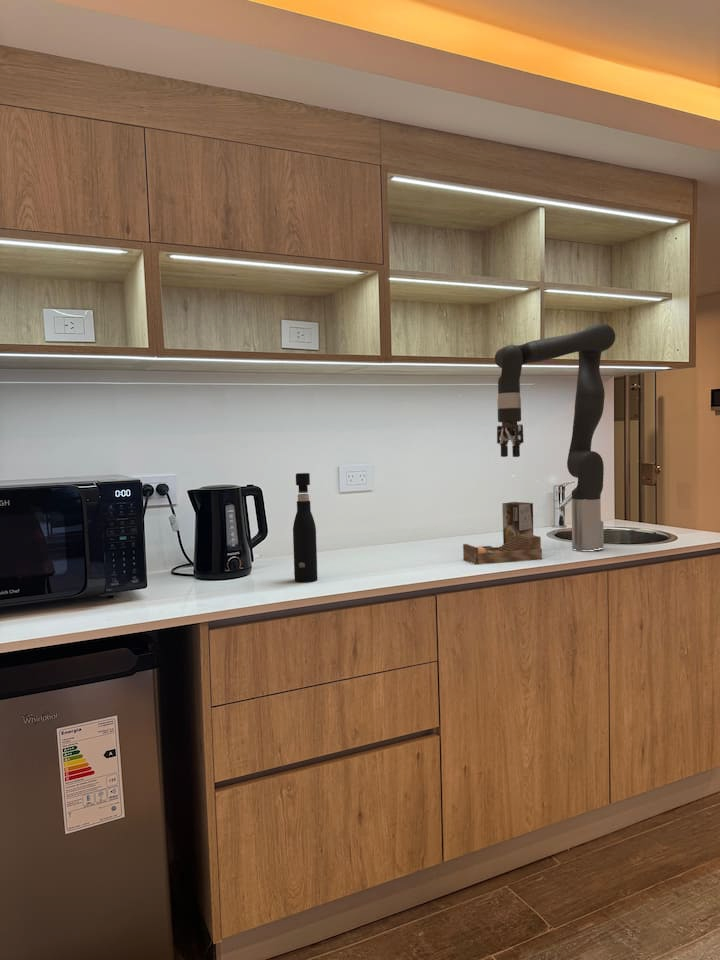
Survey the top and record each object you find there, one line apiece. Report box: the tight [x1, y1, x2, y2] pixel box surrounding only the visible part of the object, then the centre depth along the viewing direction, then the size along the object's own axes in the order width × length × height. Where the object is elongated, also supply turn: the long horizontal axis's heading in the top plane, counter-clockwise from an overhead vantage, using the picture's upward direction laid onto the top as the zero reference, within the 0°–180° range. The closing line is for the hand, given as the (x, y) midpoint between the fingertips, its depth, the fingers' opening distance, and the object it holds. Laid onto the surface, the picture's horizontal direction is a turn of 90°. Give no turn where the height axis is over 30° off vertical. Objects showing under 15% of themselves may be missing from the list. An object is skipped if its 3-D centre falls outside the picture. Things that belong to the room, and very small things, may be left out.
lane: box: [462, 534, 543, 565], centre depth 213 cm, size 22×9×7 cm, turn 104°
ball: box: [476, 546, 487, 553], centre depth 211 cm, size 5×5×5 cm
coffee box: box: [501, 501, 534, 545], centre depth 232 cm, size 9×6×16 cm
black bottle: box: [292, 472, 319, 584], centre depth 188 cm, size 6×6×30 cm
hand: (510, 456), depth 222 cm, fingers open, 8 cm apart
